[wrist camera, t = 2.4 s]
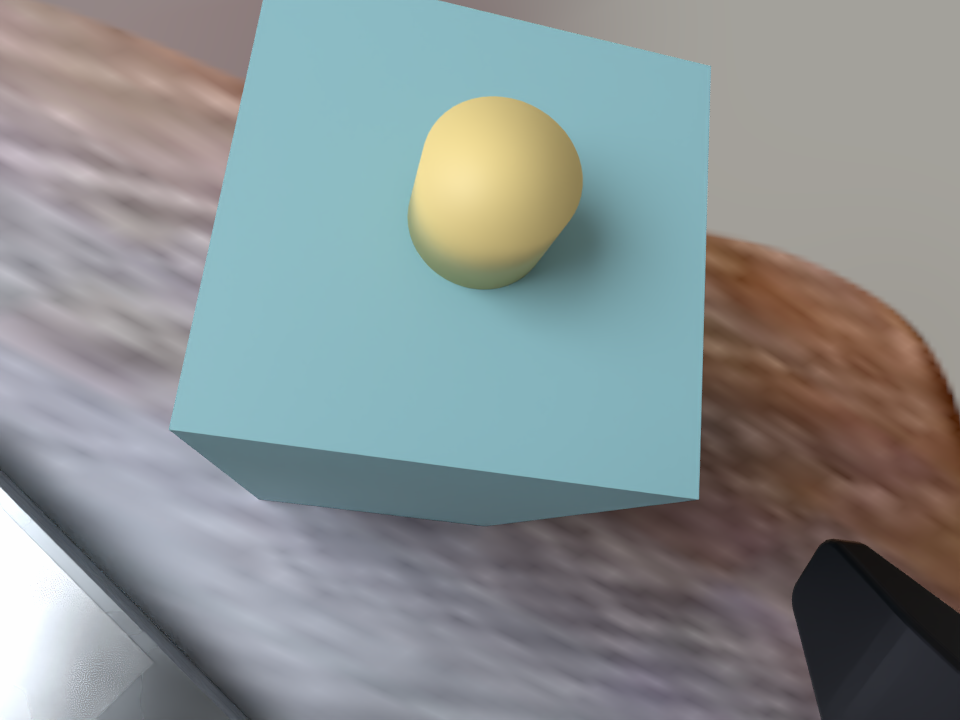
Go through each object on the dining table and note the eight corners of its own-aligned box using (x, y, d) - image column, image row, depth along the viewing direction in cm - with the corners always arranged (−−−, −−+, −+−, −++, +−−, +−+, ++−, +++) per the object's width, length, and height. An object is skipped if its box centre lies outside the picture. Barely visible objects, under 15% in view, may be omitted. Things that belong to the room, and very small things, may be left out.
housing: (485, 526, 18) (761, 492, 7) (259, 499, 18) (140, 407, 6) (506, 317, 20) (764, 0, 8) (298, 282, 19) (265, -129, 7)
